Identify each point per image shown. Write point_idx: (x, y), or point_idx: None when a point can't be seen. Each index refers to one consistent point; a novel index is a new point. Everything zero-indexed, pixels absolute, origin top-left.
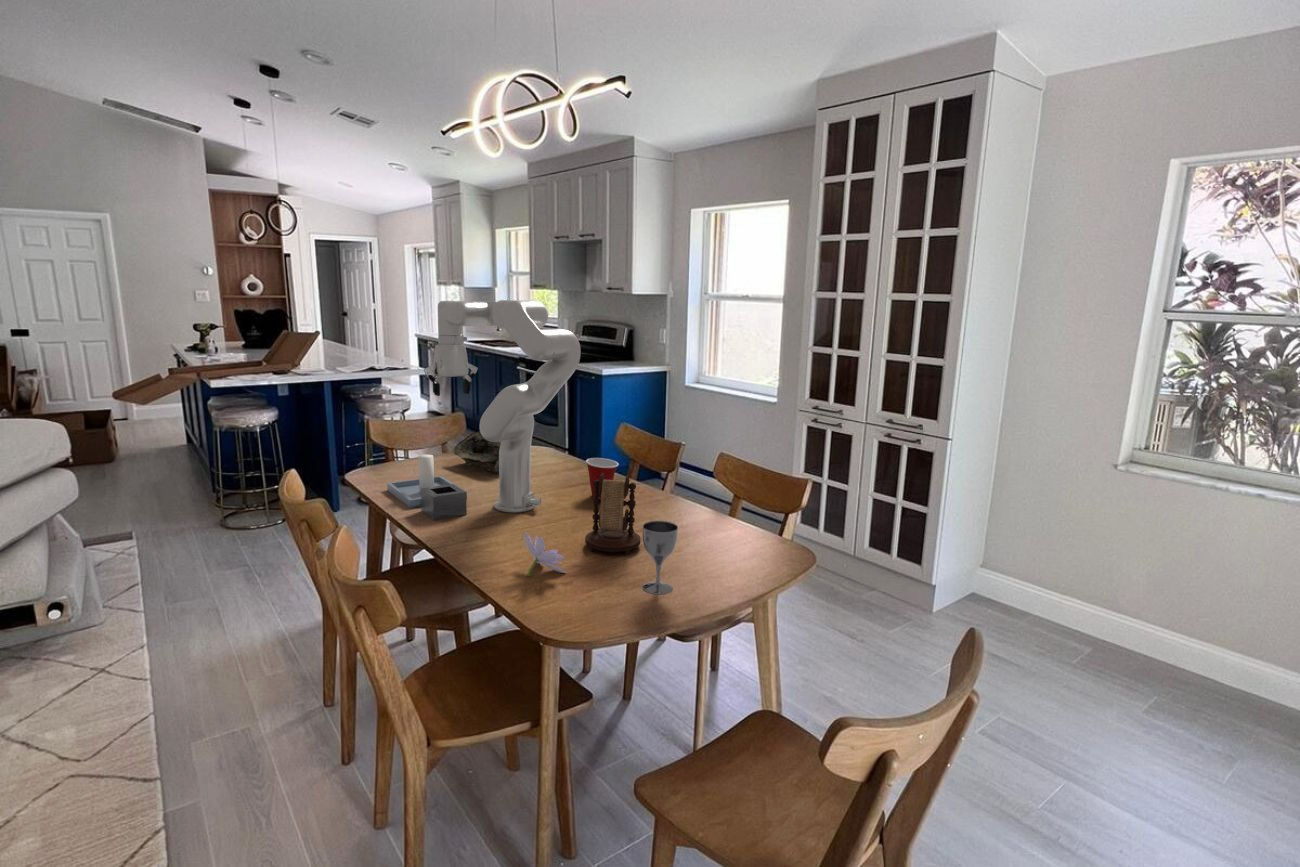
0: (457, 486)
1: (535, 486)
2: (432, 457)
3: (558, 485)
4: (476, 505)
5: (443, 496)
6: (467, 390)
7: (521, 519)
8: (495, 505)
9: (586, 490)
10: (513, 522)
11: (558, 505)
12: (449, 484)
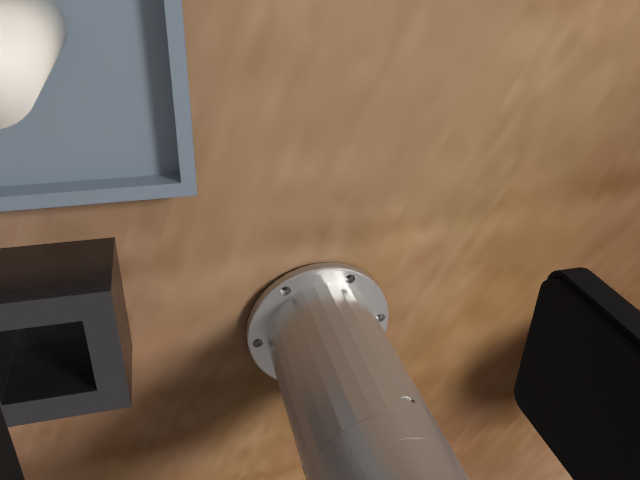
0: (185, 92)
1: (515, 128)
2: (27, 113)
3: (585, 155)
4: (202, 264)
5: (26, 421)
6: (552, 439)
7: (276, 423)
8: (249, 333)
9: (605, 248)
10: (243, 438)
11: (436, 349)
12: (90, 295)
